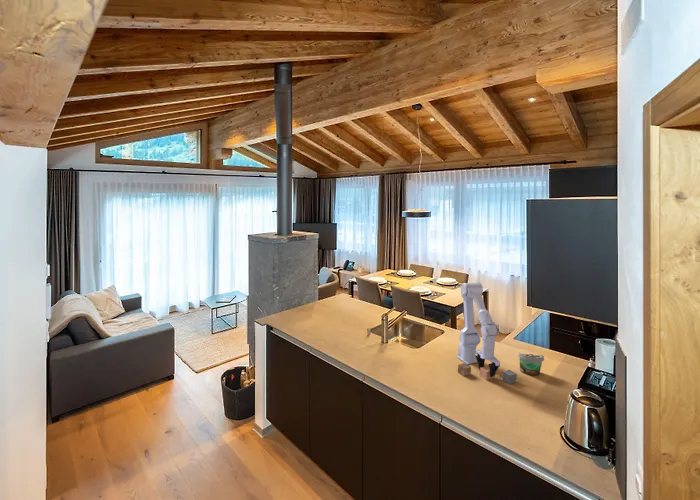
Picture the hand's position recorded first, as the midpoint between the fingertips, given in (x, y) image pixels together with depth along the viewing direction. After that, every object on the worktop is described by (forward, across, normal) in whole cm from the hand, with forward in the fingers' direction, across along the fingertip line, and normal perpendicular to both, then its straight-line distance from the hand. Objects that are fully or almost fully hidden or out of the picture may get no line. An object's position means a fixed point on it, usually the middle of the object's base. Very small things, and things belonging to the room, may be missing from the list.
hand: (486, 372), depth 177 cm
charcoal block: (+2, +7, +8) cm, 11 cm away
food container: (+2, +6, +24) cm, 25 cm away
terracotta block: (+2, 0, 0) cm, 2 cm away
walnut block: (+2, -7, -8) cm, 11 cm away
